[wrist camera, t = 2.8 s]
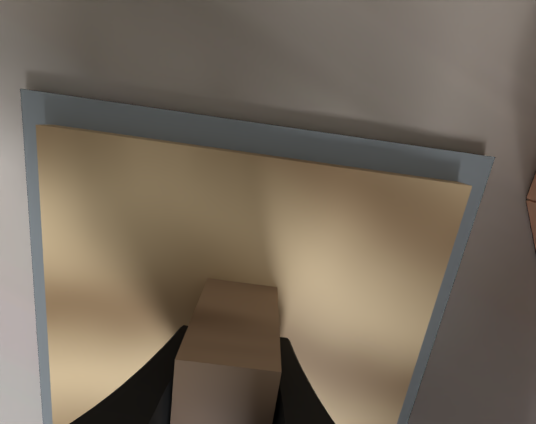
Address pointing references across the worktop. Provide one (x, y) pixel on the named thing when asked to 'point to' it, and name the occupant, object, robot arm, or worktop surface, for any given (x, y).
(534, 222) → the terracotta bowl
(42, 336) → the shallow square tray
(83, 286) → the cover board
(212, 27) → the worktop surface
